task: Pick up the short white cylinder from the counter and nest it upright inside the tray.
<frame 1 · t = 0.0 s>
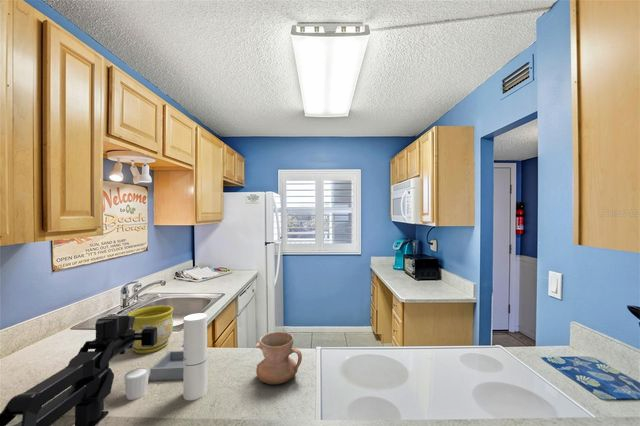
hand: (142, 328, 105), 17 cm above the counter, tool horizontal, fingers open, 9 cm apart
flowerpot: (150, 347, 126), on the counter
short white cylinder: (136, 395, 91), on the counter
ceramic jug: (278, 378, 99), on the counter
tray: (179, 369, 106), on the counter
cylindrical container: (195, 394, 91), on the counter
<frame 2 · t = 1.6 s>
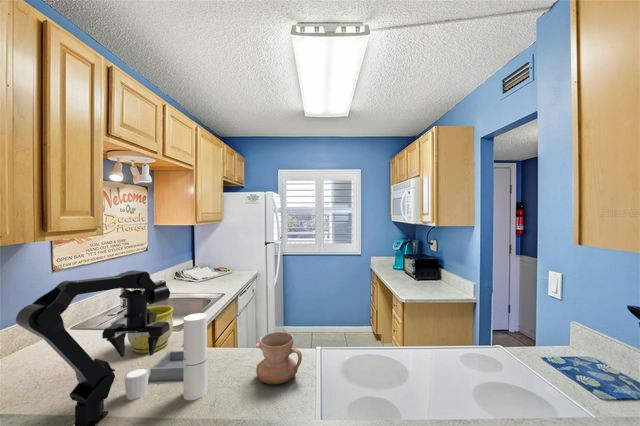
hand: (137, 355, 92), 12 cm above the counter, tool pointing down, fingers open, 9 cm apart
nothing on the counter moved.
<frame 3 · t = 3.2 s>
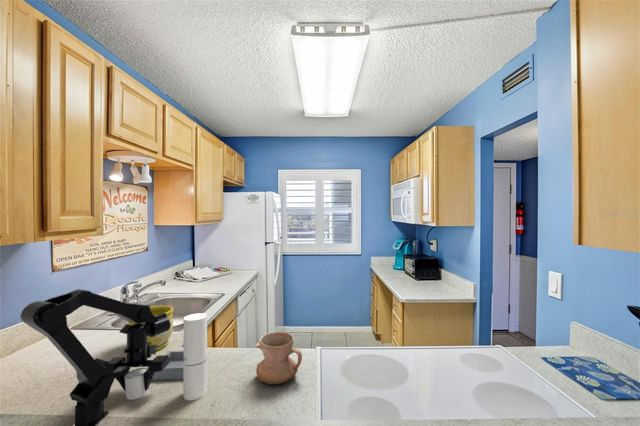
hand: (136, 390, 91), 1 cm above the counter, tool pointing down, fingers closed on short white cylinder, 6 cm apart
short white cylinder: (136, 394, 91), on the counter, touching gripper
everything else where it was.
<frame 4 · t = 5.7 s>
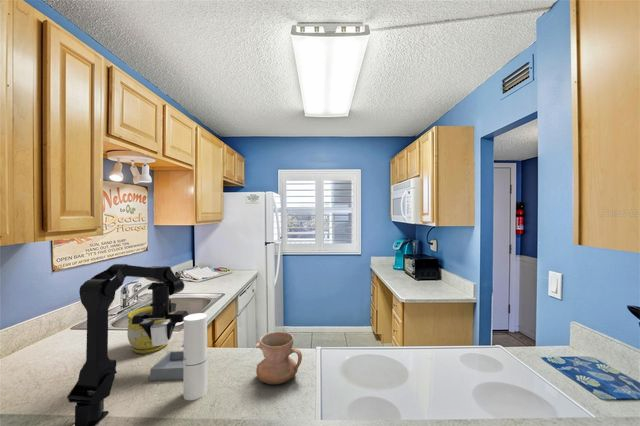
hand: (160, 339, 106), 12 cm above the counter, tool pointing down, fingers closed on short white cylinder, 6 cm apart
short white cylinder: (160, 343, 106), point 10 cm above the counter, touching gripper
everything else where it was.
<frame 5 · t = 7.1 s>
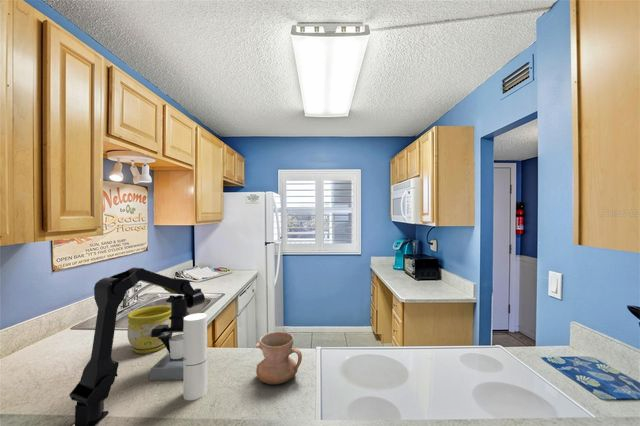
hand: (178, 352, 106), 6 cm above the counter, tool pointing down, fingers closed on short white cylinder, 6 cm apart
short white cylinder: (178, 356, 106), point 5 cm above the counter, touching gripper
everything else where it was.
when the fingers open (4 cm above the counter, at t = 8.1 s): short white cylinder drops 2 cm, resting on tray.
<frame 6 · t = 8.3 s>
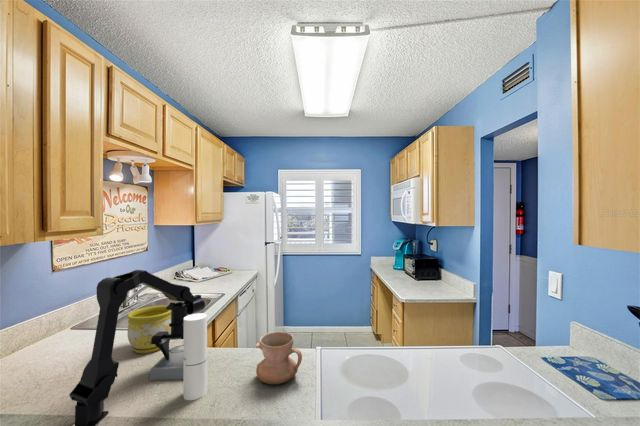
hand: (179, 359, 106), 4 cm above the counter, tool pointing down, fingers open, 8 cm apart
short white cylinder: (178, 367, 106), point 1 cm above the counter, touching tray
everything else where it was.
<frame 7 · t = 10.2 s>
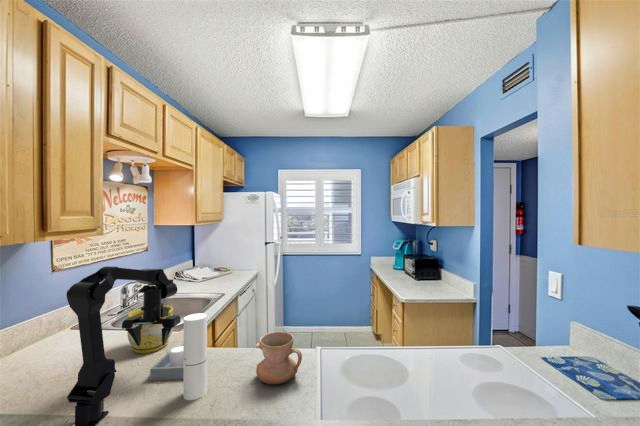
hand: (151, 345, 102), 11 cm above the counter, tool pointing down, fingers open, 9 cm apart
nothing on the counter moved.
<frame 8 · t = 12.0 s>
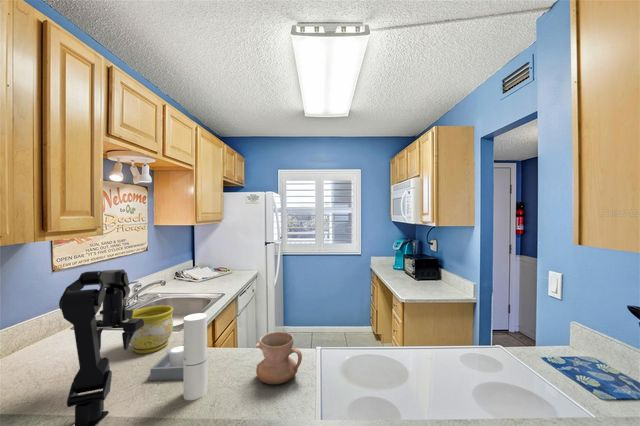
hand: (112, 350, 97), 12 cm above the counter, tool pointing down, fingers open, 9 cm apart
nothing on the counter moved.
at the end: short white cylinder inside the target area on the tray (0.1 cm from its centre), point 0.6 cm above the tray's base; short white cylinder tilted 0°; the gripper is holding nothing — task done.
